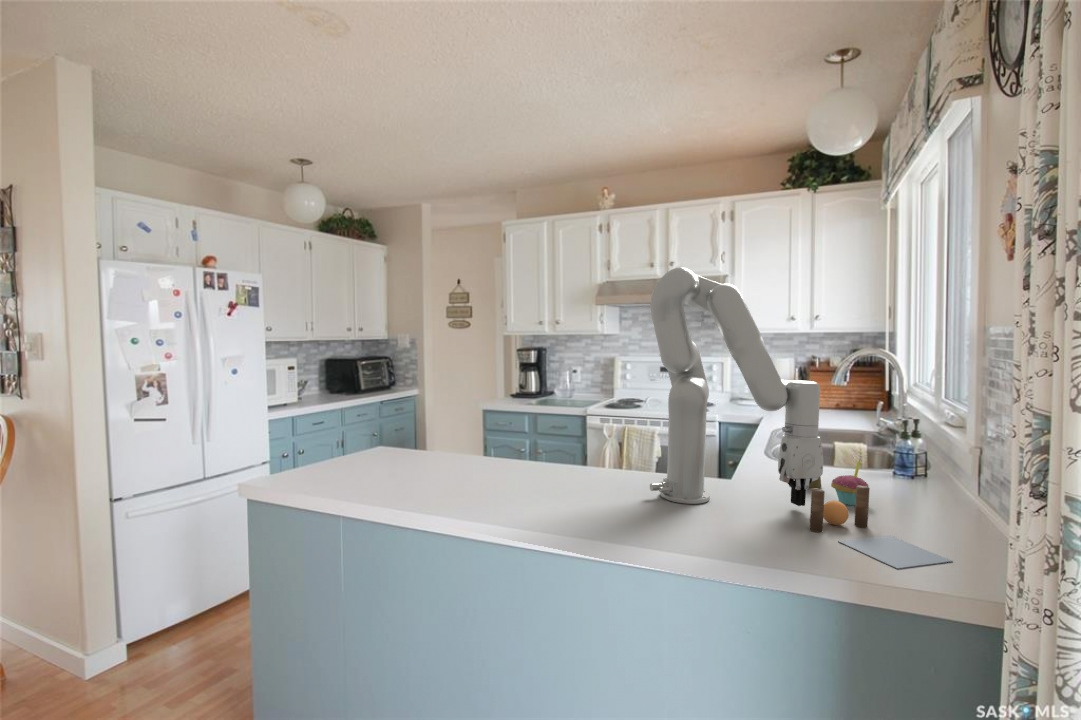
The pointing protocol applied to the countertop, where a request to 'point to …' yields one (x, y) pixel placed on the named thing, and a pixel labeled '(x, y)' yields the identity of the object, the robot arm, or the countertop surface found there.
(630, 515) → the countertop surface
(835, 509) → the ball
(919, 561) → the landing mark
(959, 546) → the countertop surface
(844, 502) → the cupcake
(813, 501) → the post
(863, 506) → the post
